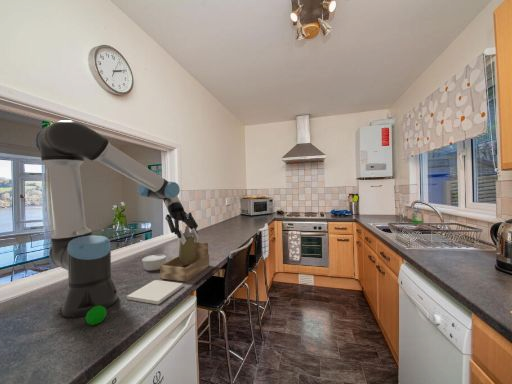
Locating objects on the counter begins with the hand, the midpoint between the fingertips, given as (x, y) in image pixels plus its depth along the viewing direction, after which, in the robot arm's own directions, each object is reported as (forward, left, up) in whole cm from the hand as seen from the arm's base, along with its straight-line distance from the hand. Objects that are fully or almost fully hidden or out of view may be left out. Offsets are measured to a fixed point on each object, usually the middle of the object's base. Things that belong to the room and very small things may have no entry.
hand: (191, 241), depth 99 cm
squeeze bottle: (-3, +1, -11) cm, 12 cm away
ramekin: (-23, +2, -16) cm, 28 cm away
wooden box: (-3, +1, -15) cm, 16 cm away
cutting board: (-2, -20, -15) cm, 25 cm away
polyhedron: (-6, -40, -16) cm, 44 cm away
